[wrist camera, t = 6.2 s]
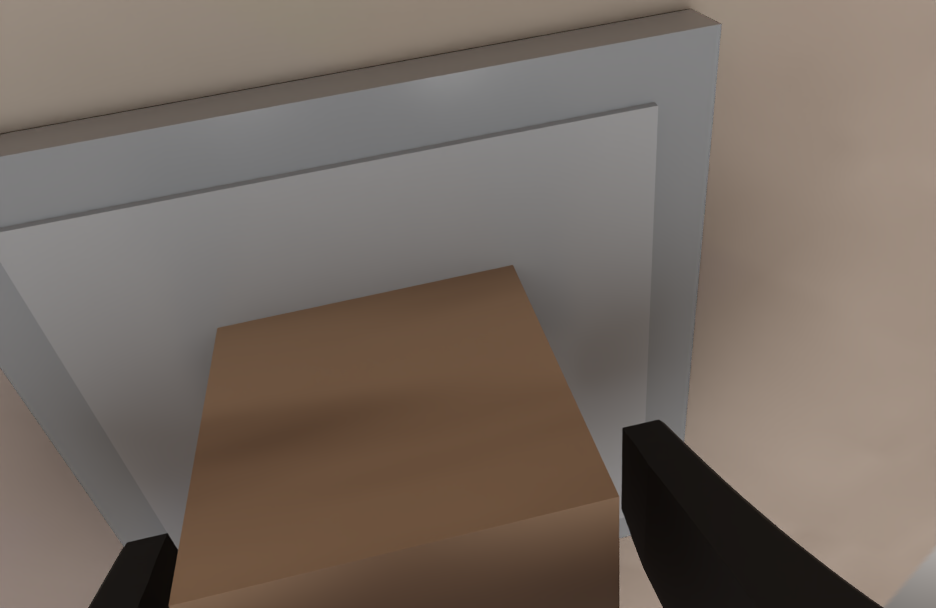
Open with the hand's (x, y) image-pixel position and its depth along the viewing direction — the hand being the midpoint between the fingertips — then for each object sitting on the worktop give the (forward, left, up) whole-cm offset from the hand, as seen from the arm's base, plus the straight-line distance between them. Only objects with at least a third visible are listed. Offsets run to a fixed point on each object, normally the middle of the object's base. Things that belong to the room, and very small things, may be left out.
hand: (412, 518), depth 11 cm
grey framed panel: (0, 0, -4) cm, 4 cm away
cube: (0, 0, -2) cm, 3 cm away
